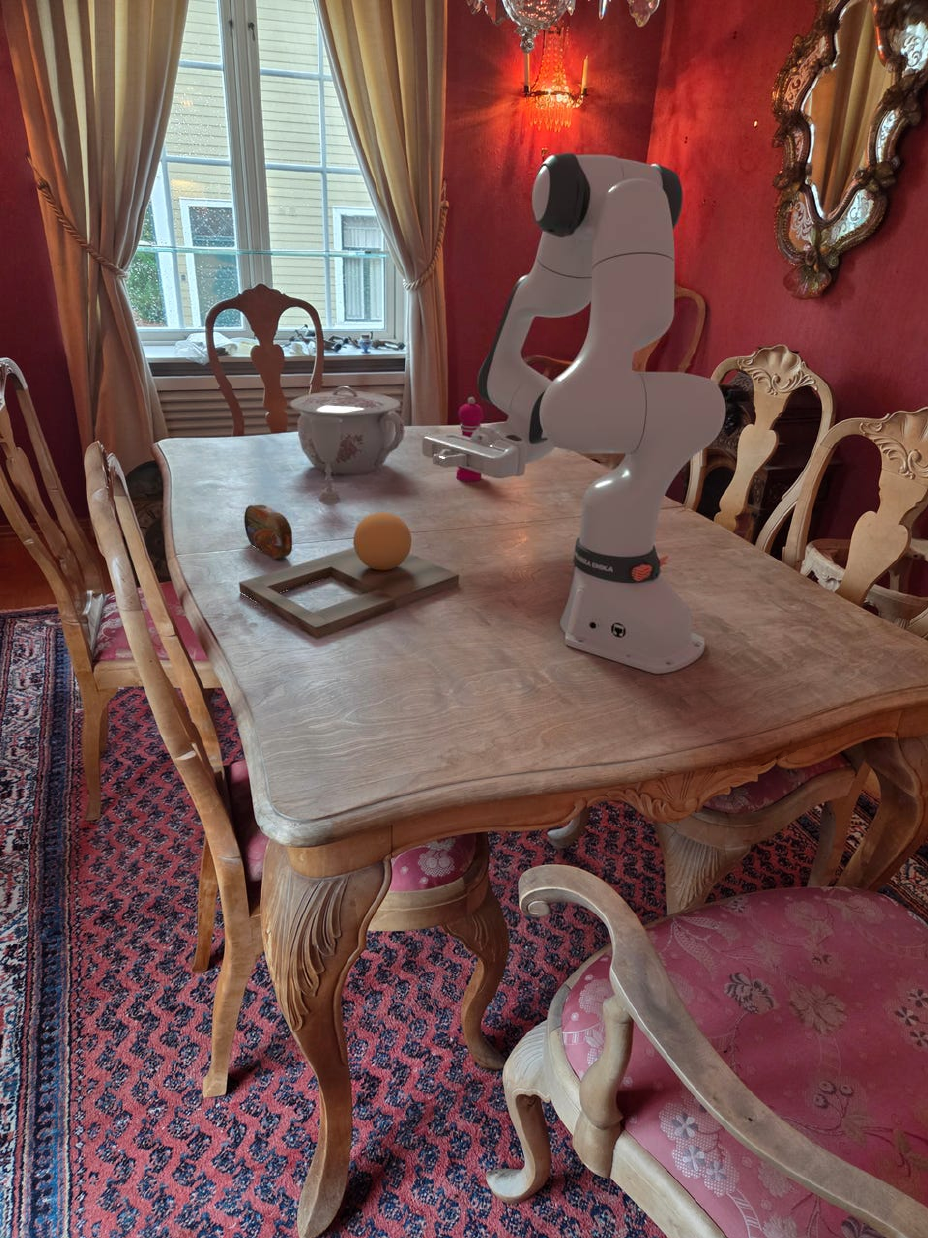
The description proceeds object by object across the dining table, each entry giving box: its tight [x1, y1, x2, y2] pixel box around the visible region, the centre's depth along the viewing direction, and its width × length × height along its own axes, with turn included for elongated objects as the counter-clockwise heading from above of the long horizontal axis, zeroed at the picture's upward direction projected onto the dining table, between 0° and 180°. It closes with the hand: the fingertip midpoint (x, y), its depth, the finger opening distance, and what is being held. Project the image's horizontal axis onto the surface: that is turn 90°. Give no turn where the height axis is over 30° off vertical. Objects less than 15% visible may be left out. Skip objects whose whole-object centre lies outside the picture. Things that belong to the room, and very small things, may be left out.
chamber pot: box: [289, 385, 405, 476], centre depth 193 cm, size 28×27×21 cm
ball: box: [353, 511, 412, 570], centre depth 133 cm, size 10×10×10 cm
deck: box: [238, 547, 460, 640], centre depth 131 cm, size 22×30×2 cm
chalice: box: [309, 417, 342, 504], centre depth 170 cm, size 7×7×18 cm
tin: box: [243, 504, 293, 560], centre depth 144 cm, size 15×3×8 cm, turn 40°
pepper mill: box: [456, 396, 484, 482], centre depth 188 cm, size 7×7×20 cm
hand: (438, 461), depth 136 cm, fingers closed
